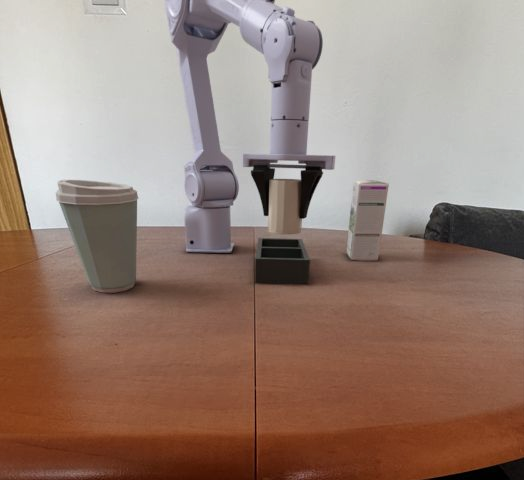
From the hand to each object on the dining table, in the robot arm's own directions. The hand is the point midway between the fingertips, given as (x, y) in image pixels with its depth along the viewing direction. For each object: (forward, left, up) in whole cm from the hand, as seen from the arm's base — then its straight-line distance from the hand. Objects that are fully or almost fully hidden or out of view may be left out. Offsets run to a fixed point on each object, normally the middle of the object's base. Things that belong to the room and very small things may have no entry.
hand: (285, 216), depth 63 cm
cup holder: (0, +2, -10) cm, 10 cm away
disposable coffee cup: (-26, -10, -10) cm, 30 cm away
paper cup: (0, 0, -2) cm, 2 cm away
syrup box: (+17, +13, -10) cm, 23 cm away
